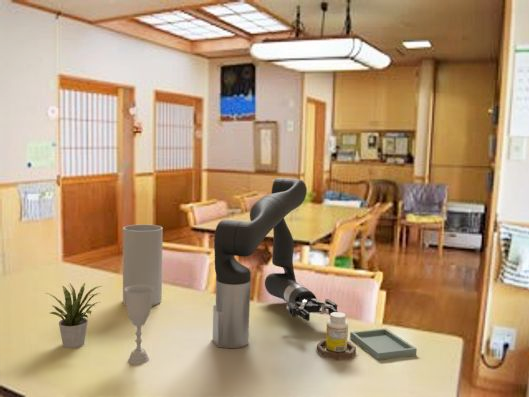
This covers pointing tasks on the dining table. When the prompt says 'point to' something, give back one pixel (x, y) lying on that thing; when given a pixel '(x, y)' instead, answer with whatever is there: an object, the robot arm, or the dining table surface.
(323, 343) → the holder ring
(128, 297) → the chalice
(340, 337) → the supplement bottle
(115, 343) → the dining table surface
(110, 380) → the dining table surface
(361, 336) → the tray
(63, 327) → the house plant
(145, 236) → the cylinder vase
